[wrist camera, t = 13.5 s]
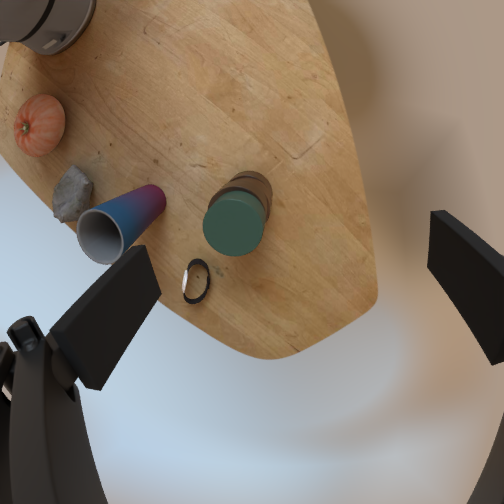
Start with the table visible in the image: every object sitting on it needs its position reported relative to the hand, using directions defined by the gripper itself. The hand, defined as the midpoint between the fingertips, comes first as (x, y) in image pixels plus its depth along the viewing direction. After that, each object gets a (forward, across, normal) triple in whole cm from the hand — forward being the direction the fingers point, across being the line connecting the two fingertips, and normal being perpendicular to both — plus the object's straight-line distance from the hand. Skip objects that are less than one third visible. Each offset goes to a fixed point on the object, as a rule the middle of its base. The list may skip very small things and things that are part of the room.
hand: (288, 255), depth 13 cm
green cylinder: (+19, -6, -4) cm, 20 cm away
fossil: (+30, -34, +2) cm, 45 cm away
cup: (+30, -21, -2) cm, 37 cm away
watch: (+27, -16, -17) cm, 36 cm away
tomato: (+30, -38, +16) cm, 51 cm away
